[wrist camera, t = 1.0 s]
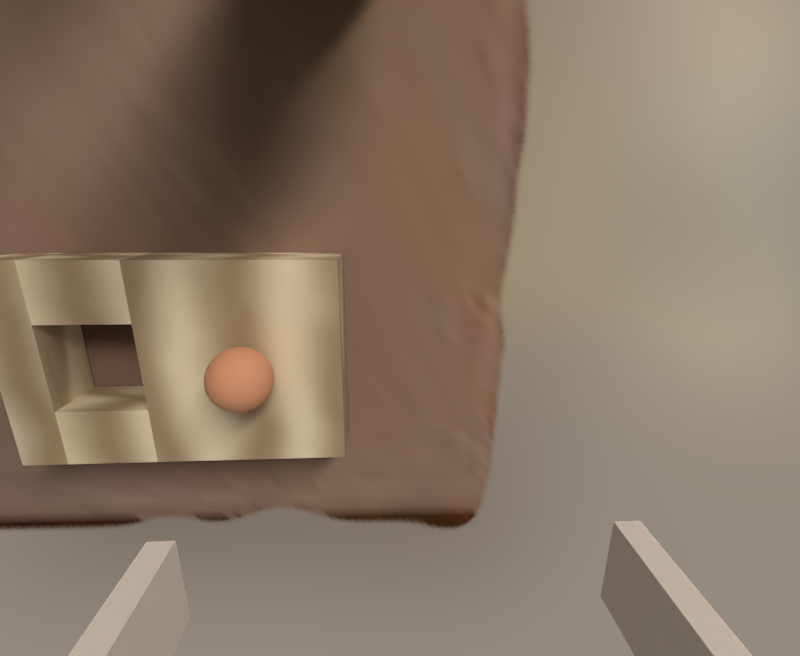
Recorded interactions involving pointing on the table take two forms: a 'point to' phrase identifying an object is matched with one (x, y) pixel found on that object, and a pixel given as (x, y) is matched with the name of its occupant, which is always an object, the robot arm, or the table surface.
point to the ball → (238, 379)
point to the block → (173, 355)
